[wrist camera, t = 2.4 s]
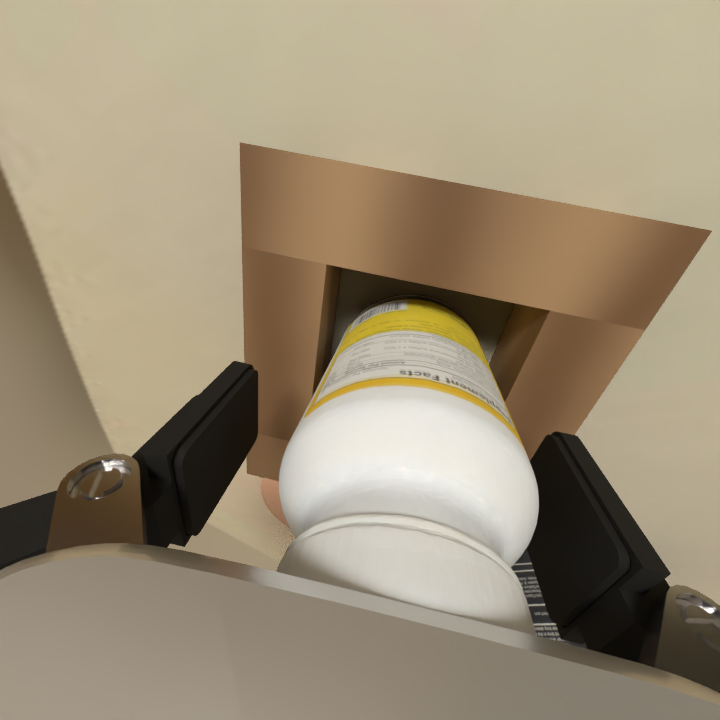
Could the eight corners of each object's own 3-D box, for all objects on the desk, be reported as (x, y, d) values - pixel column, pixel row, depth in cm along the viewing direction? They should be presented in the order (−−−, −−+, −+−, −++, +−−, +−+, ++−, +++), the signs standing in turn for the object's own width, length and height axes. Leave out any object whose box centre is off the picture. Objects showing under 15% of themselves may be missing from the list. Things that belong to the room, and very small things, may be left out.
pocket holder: (643, 221, 11) (711, 231, 9) (492, 488, 18) (504, 538, 16) (278, 152, 12) (239, 142, 9) (270, 434, 19) (246, 473, 16)
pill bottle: (399, 428, 17) (375, 761, 7) (315, 347, 16) (135, 627, 6) (507, 364, 15) (711, 758, 4) (419, 257, 13) (428, 494, 3)
